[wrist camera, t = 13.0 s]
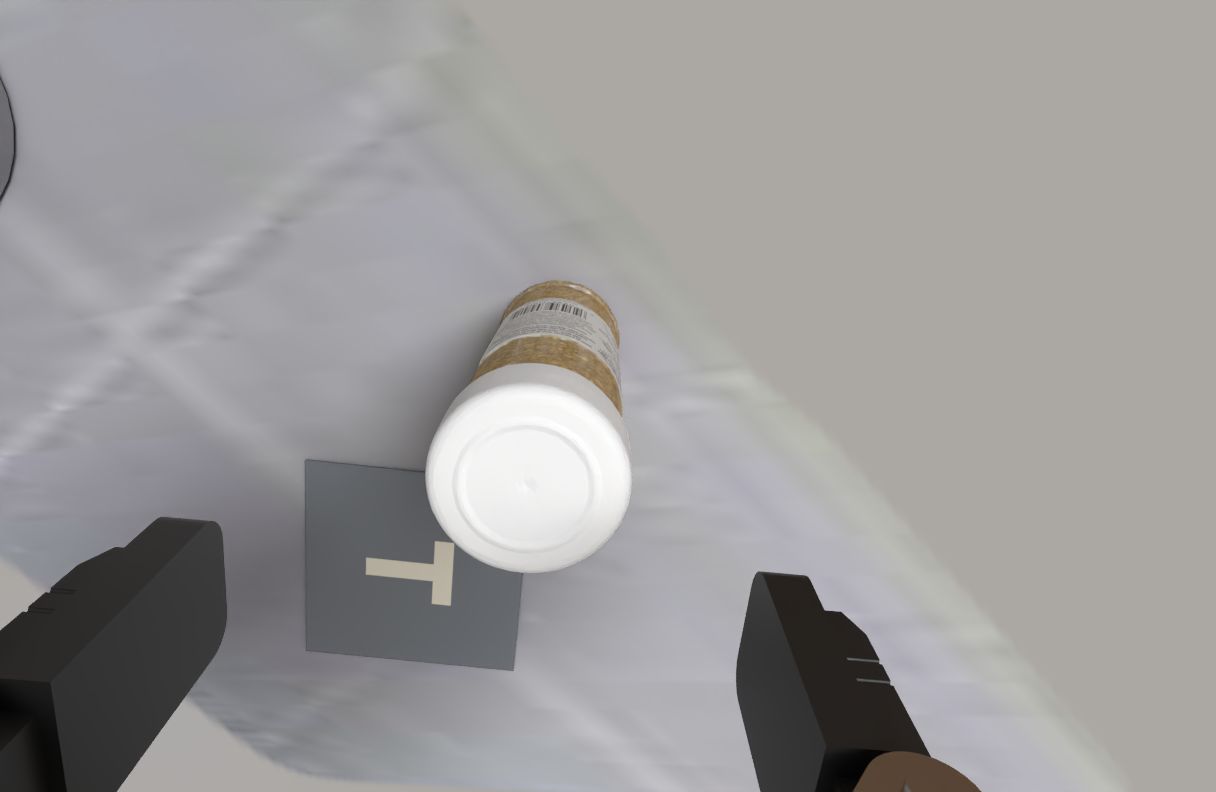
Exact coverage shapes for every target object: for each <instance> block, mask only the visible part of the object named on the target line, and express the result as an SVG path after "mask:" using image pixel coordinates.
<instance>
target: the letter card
mask: <svg viewBox="0 0 1216 792" xmlns="http://www.w3.org/2000/svg"><path fill="white" fill-rule="evenodd" d="M305 529H306V651H315V652H325V653H335V654H346V655H356V656H366V657H376V658H386V659H396V660H407V661H417V662H427V663H437V664H447V665H458V666H468V667H478V668H488V669H498V670H508V671H513V669H514V659H515V648H516V638H517V627H518V616H519V606H520V595H521V585H522V574H523V573H520V572H512V571H507V570H503V569H500V568H496V567H493V566H490V565H488V564H486V563H483V562H481V561H479V560H477V559H476V558H474V557H472V556H471V555H469V554H468V553H466V552H465V551H464V550H462V549H461V548H460V547H459V546H457V545H456V544H455V543H454V542H453V541H452V540H451V538H450V537H449V536H448V535H447V534H446V533H445V531H444V530H443V529H442V527H441V526H440V524H439V522H438V521H437V519H436V516H435V515H434V513H433V511H432V509H431V506H430V502H429V499H428V495H427V490H426V482H425V472H419V471H409V470H400V469H391V468H381V467H372V466H363V465H353V464H344V463H335V462H325V461H316V460H307V459H306V460H305Z"/></svg>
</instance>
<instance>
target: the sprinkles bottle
mask: <svg viewBox="0 0 1216 792" xmlns="http://www.w3.org/2000/svg"><path fill="white" fill-rule="evenodd" d="M618 349H619V330H618V326H617V322H616V318H615V316H614V315H613V313H612V312H611V310H610V308H609V306H608V305H607V304H606V302H605V301H604V300H603V299H602V298H601V297H600V296H598V295H597V294H596V293H594V292H593V291H592V290H590V289H588V288H586V287H585V286H583V285H580V284H575V283H572V282H566V281H565V282H562V281H548V282H545V283H541V284H538V285H535V286H532V287H530V288H529V289H528V290H526V291H525V292H524V293H522V294H521V295H519V296H517V297H516V298H515V300H514V301H513V302H512V303H511V305H510V306H509V307H508V309H507V311H506V312H505V314H504V316H503V319H502V323H501V325H500V327H499V329H498V331H497V332H496V334H495V336H494V337H493V339H492V341H491V342H490V344H489V346H488V348H487V350H486V351H485V353H484V355H483V356H482V358H481V360H480V363H479V365H478V368H477V371H476V373H475V375H474V377H473V379H472V380H471V383H470V384H469V385H468V386H467V387H466V388H465V389H464V390H463V391H462V392H461V393H460V394H459V395H458V396H457V397H456V398H455V399H454V401H453V402H452V404H451V405H450V407H449V408H448V410H447V412H446V414H445V415H444V417H443V419H442V421H441V423H440V425H439V427H438V429H437V431H436V433H435V435H434V438H433V440H432V443H431V445H430V448H429V452H428V456H427V461H426V469H425V482H426V490H427V495H428V499H429V502H430V506H431V509H432V511H433V513H434V515H435V516H436V519H437V521H438V522H439V524H440V526H441V527H442V529H443V530H444V531H445V533H446V534H447V535H448V536H449V537H450V538H451V540H452V541H453V542H454V543H455V544H456V545H457V546H459V547H460V548H461V549H462V550H464V551H465V552H466V553H468V554H469V555H471V556H472V557H474V558H476V559H477V560H479V561H481V562H483V563H486V564H488V565H490V566H493V567H496V568H500V569H503V570H507V571H512V572H520V573H542V572H549V571H555V570H559V569H563V568H566V567H568V566H571V565H573V564H576V563H578V562H580V561H582V560H584V559H585V558H587V557H589V556H590V555H592V554H593V553H595V552H596V551H597V550H598V549H600V548H601V547H602V546H603V545H604V544H605V543H606V542H607V541H608V540H609V538H610V537H611V536H612V535H613V534H614V532H615V531H616V530H617V528H618V527H619V525H620V524H621V521H622V519H623V517H624V515H625V513H626V510H627V507H628V504H629V500H630V496H631V489H632V457H631V448H630V441H629V437H628V433H627V429H626V426H625V424H624V421H623V419H622V394H621V379H620V362H619V352H618Z"/></svg>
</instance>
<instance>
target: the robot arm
mask: <svg viewBox="0 0 1216 792" xmlns="http://www.w3.org/2000/svg"><path fill="white" fill-rule="evenodd" d="M13 156H14V132H13V121H12V117H11V112H10V107H9V103H8V98H7V94H6V92H5V90H4V87H3V85H2V82H1V80H0V196H1V194H2V192H3V190H4V188H5V186H6V184H7V182H8V179H9V174H10V170H11V165H12V160H13ZM226 620H227V603H226V586H225V569H224V552H223V537H222V531H221V528H220V526H219V525H218V523H216V522H214V521H204V520H193V519H182V518H171V517H160V518H158V519H156V520H155V521H154V522H153V523H152V524H150V525H149V526H148V527H147V528H146V529H145V530H144V531H143V532H141V533H140V534H139V535H138V536H137V537H136V538H135V539H134V540H132V541H131V542H130V543H129V544H128V545H127V546H126V547H125V548H120V547H115V548H113V549H110V550H108V551H106V552H104V553H102V554H100V555H98V556H96V557H94V558H92V559H90V560H87V561H85V562H83V563H81V564H79V565H77V566H76V567H75V568H74V569H73V570H71V571H70V572H69V573H68V574H67V575H65V576H64V577H63V578H62V579H61V580H60V581H58V582H57V583H56V584H55V585H54V586H52V587H51V591H50V593H47V592H45V593H44V594H43V595H42V596H41V597H40V598H38V599H37V600H36V601H35V602H34V603H32V604H31V605H30V606H29V608H28V611H27V612H22V613H21V614H19V615H18V616H17V617H16V618H15V619H14V620H12V621H11V622H10V623H9V624H8V625H6V626H5V627H4V628H3V629H2V630H0V792H117V790H118V789H119V788H120V786H121V785H122V783H123V782H124V781H125V779H126V778H127V777H128V775H129V774H130V772H131V771H132V770H133V768H134V767H135V765H136V764H137V762H138V761H139V760H140V758H141V757H142V756H143V754H144V753H145V752H146V750H147V749H148V747H149V746H150V745H151V743H152V742H153V741H154V739H155V738H156V736H157V735H158V734H159V732H160V731H161V729H162V728H163V727H164V725H165V724H166V722H167V721H168V720H169V718H170V717H171V715H172V714H173V713H174V711H175V710H176V709H177V707H178V706H179V705H180V703H181V702H182V700H183V699H184V698H185V696H186V695H187V693H188V692H189V691H190V689H191V688H192V687H193V685H194V684H195V682H196V681H197V680H198V678H199V677H200V675H201V674H202V673H203V671H204V670H205V669H206V667H207V666H208V664H209V663H210V662H211V660H212V659H213V657H214V656H215V654H216V653H217V651H218V649H219V646H220V644H221V641H222V638H223V635H224V631H225V627H226ZM736 687H737V696H738V702H739V706H740V710H741V714H742V718H743V722H744V726H745V730H746V734H747V738H748V742H749V746H750V751H751V755H752V759H753V763H754V767H755V771H756V775H757V779H758V783H759V787H760V791H761V792H981V791H980V790H979V789H978V787H977V786H976V785H975V784H974V783H972V782H971V781H970V780H969V779H968V778H967V777H966V776H964V775H963V774H961V773H960V772H959V771H957V770H956V769H954V768H952V767H951V766H949V765H947V764H945V763H943V762H941V761H939V760H937V759H934V758H931V756H930V754H929V752H928V751H927V749H926V747H925V745H924V743H923V741H922V739H921V737H920V735H919V734H918V732H917V730H916V728H915V726H914V724H913V722H912V720H911V718H910V717H909V715H908V713H907V711H906V709H905V707H904V705H903V703H902V701H901V700H900V698H899V696H898V694H897V692H896V690H895V688H894V686H891V685H890V679H889V677H888V675H887V673H886V671H885V669H884V667H883V666H882V665H881V664H879V658H878V656H877V654H876V652H875V650H874V649H873V647H872V645H871V643H870V641H869V639H868V637H867V635H866V634H865V633H864V632H863V631H862V630H861V629H859V628H858V627H857V626H856V625H855V624H854V623H853V622H852V621H851V620H850V619H848V618H847V617H846V616H845V615H844V614H843V613H842V612H836V611H825V610H824V608H823V606H822V604H821V602H820V600H819V598H818V596H817V594H816V591H815V589H814V587H813V585H812V583H811V581H810V579H809V578H808V577H807V576H805V575H793V574H782V573H771V572H757V573H756V575H755V577H754V579H753V582H752V587H751V592H750V597H749V602H748V607H747V612H746V617H745V622H744V627H743V632H742V637H741V643H740V648H739V653H738V659H737V669H736Z"/></svg>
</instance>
